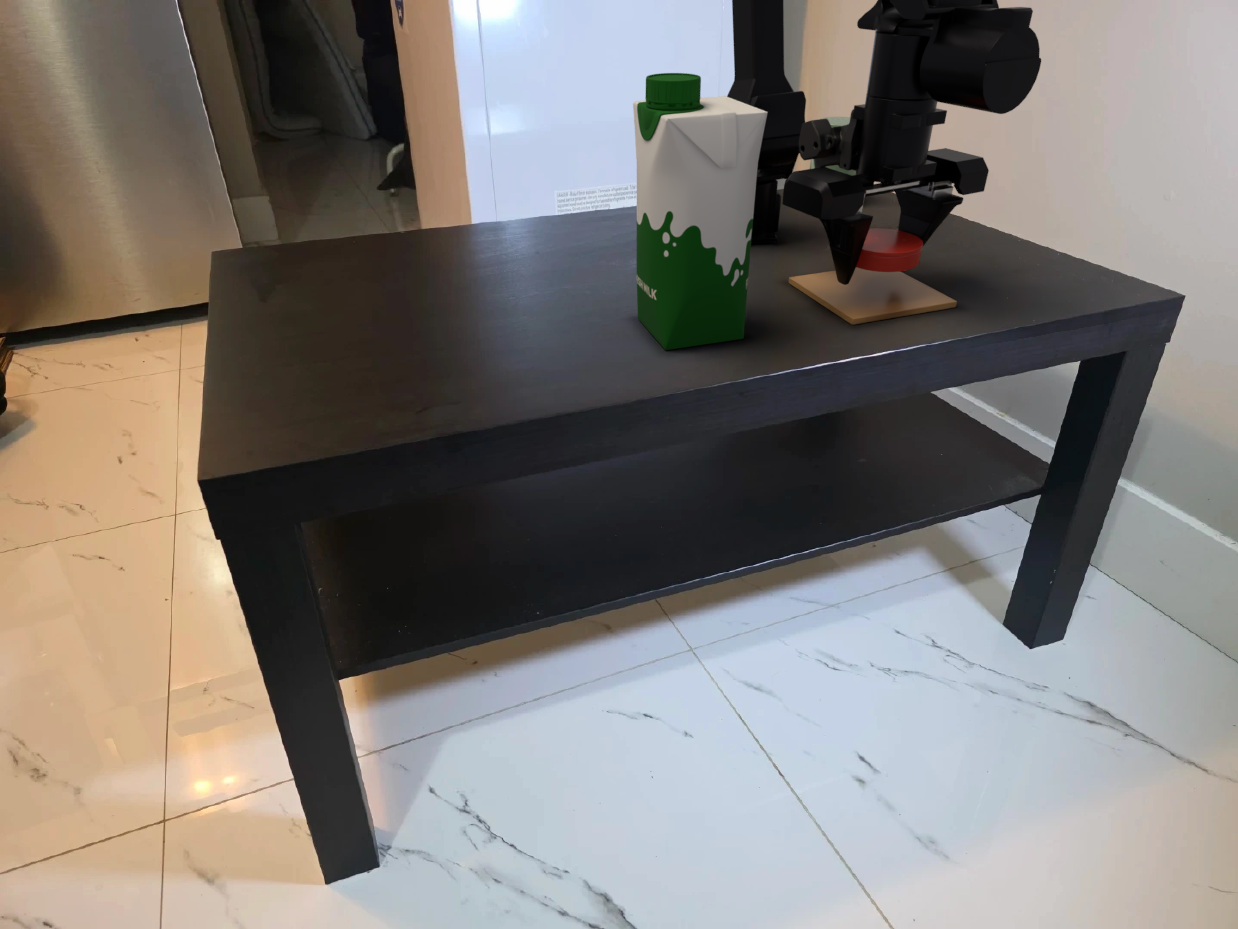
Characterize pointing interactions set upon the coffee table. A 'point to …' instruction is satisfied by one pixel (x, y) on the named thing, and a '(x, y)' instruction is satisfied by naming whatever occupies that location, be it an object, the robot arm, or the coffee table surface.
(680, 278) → the milk carton
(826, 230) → the robot arm
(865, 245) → the lid
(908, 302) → the coaster
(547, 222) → the coffee table surface
